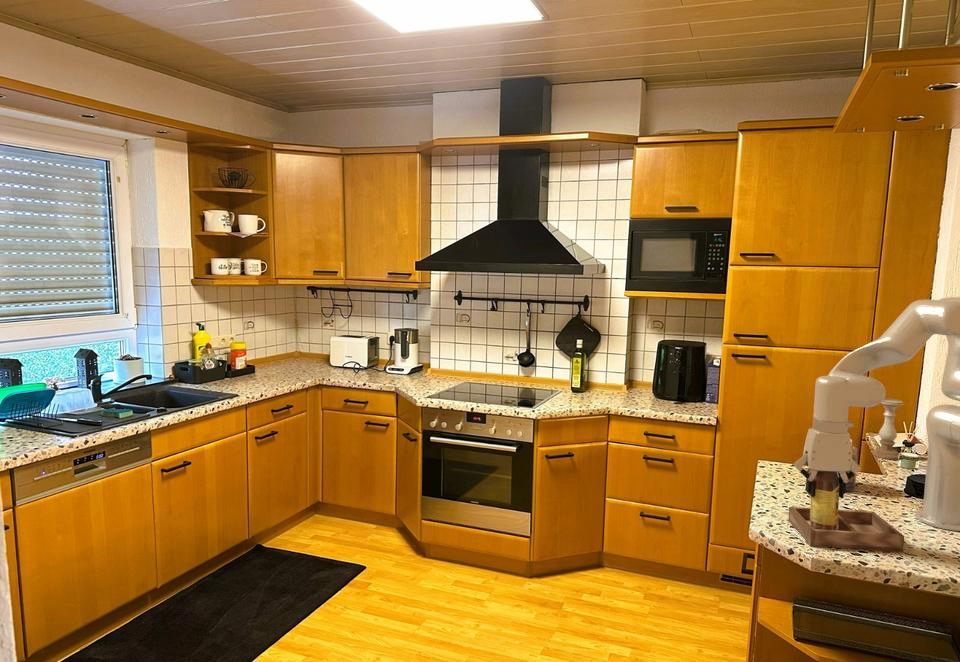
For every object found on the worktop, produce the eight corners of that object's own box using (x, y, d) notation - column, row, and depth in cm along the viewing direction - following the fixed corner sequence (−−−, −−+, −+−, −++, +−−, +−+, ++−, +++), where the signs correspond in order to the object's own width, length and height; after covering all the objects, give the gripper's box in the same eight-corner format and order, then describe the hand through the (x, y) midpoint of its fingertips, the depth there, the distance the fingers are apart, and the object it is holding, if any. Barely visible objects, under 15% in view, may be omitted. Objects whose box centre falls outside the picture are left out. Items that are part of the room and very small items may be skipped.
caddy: (872, 526, 166) (873, 511, 165) (902, 552, 151) (904, 536, 150) (788, 521, 168) (789, 506, 168) (809, 546, 153) (811, 530, 153)
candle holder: (867, 451, 232) (872, 397, 229) (894, 453, 230) (899, 398, 228) (877, 458, 223) (882, 402, 221) (905, 460, 221) (910, 404, 219)
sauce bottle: (840, 534, 156) (846, 456, 154) (813, 531, 157) (818, 454, 155) (831, 523, 163) (836, 448, 160) (805, 521, 164) (810, 447, 162)
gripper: (859, 423, 160) (854, 492, 162) (787, 420, 162) (783, 488, 164) (874, 431, 152) (868, 503, 154) (798, 428, 154) (794, 499, 156)
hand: (825, 494), depth 159 cm, fingers closed on sauce bottle, 6 cm apart
